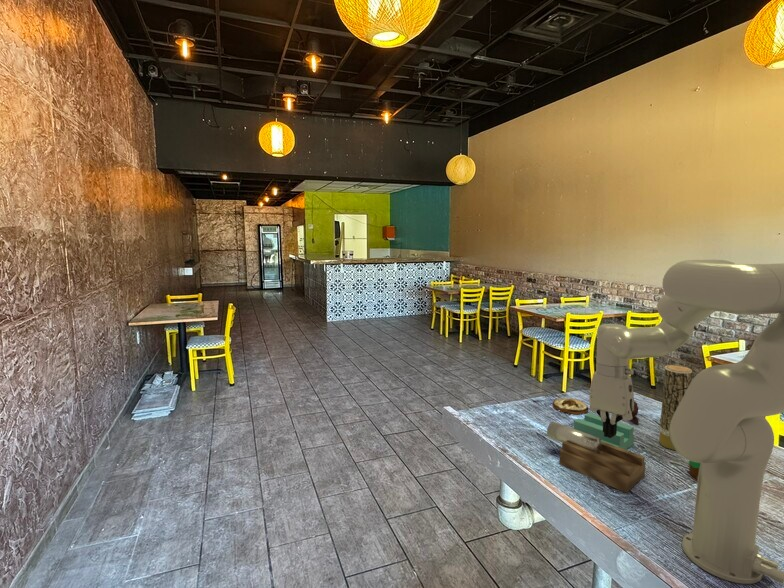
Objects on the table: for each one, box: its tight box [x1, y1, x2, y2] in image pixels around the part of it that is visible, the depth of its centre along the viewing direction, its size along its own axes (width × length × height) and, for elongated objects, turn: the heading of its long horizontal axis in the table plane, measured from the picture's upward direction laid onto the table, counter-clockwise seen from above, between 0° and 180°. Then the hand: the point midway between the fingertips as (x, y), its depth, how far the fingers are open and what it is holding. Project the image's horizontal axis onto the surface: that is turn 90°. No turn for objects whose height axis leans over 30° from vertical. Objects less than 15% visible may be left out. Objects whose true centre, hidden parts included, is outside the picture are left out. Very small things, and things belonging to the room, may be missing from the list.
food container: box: [688, 460, 700, 482], centre depth 111 cm, size 12×6×10 cm, turn 141°
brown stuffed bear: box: [631, 401, 640, 425], centre depth 149 cm, size 7×7×15 cm
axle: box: [546, 420, 602, 454], centre depth 120 cm, size 14×5×5 cm, turn 39°
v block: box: [573, 412, 635, 450], centre depth 130 cm, size 14×12×6 cm
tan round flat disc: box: [552, 397, 589, 416], centre depth 157 cm, size 15×15×4 cm
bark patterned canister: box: [658, 364, 693, 451], centre depth 126 cm, size 7×7×25 cm
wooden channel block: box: [558, 441, 647, 494], centre depth 114 cm, size 18×12×6 cm, turn 39°
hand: (609, 435), depth 111 cm, fingers closed
